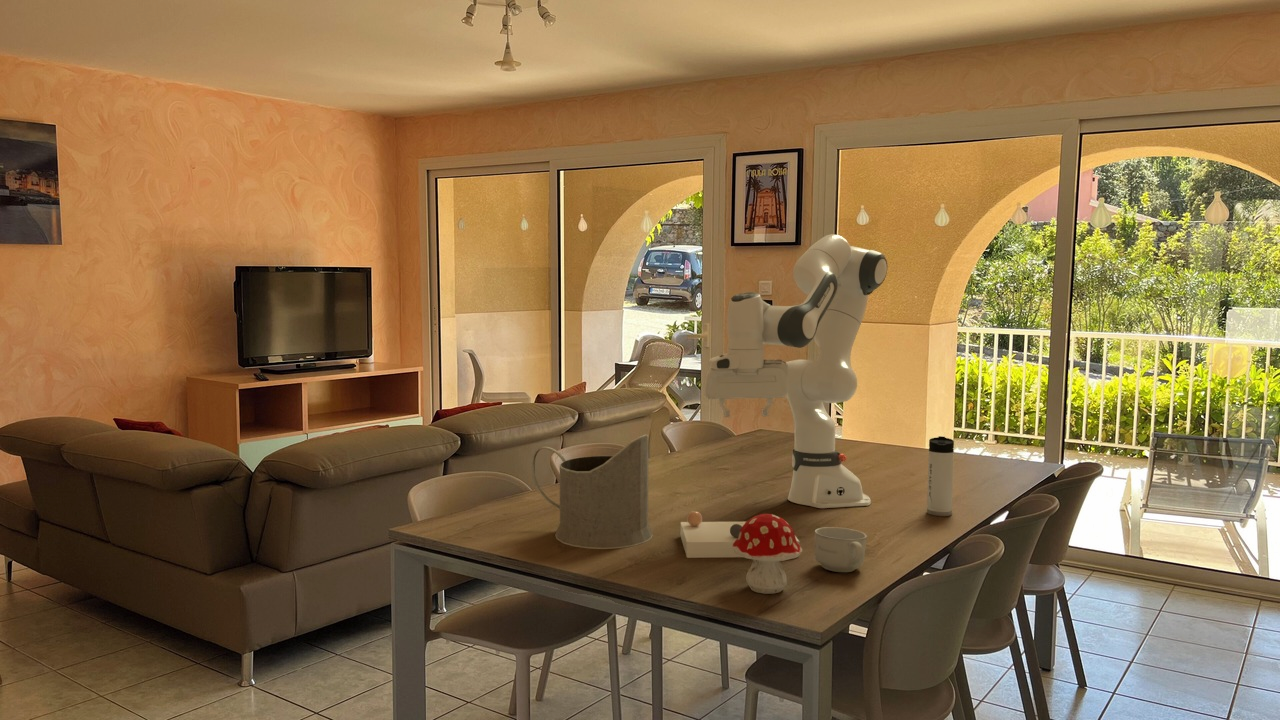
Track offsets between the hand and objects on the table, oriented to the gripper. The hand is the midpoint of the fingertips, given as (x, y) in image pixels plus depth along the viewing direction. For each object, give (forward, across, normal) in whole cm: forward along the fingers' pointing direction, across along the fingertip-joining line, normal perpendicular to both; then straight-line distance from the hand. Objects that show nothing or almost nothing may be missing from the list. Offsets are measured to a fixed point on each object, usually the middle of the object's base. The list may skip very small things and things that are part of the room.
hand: (745, 416), depth 224 cm
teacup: (+28, -15, +34) cm, 46 cm away
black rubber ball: (+23, +5, +20) cm, 31 cm away
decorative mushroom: (+28, +3, +45) cm, 53 cm away
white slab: (+28, +4, +15) cm, 32 cm away
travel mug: (+29, -53, -13) cm, 62 cm away
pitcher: (+27, +39, +2) cm, 48 cm away
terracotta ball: (+22, +14, +10) cm, 28 cm away
